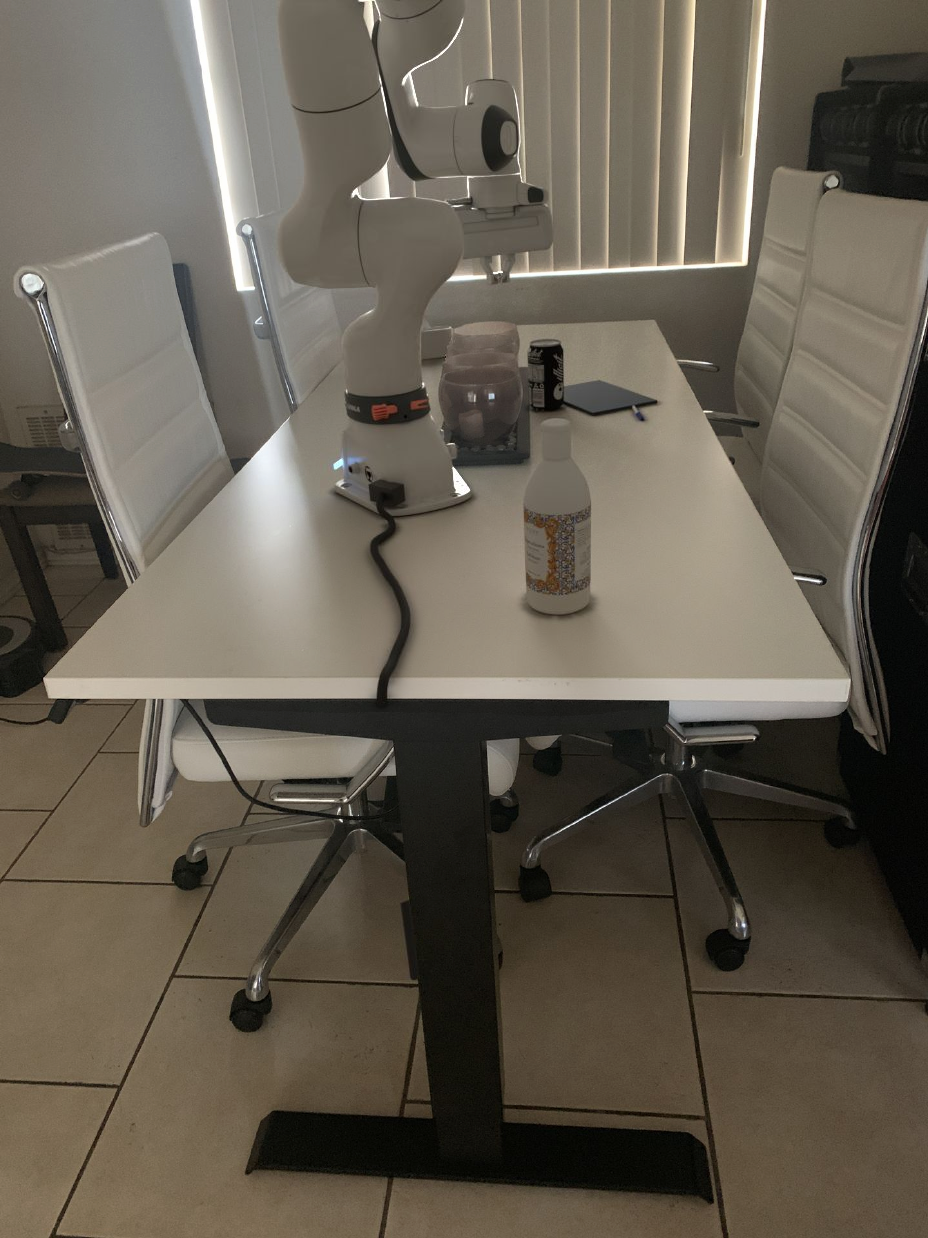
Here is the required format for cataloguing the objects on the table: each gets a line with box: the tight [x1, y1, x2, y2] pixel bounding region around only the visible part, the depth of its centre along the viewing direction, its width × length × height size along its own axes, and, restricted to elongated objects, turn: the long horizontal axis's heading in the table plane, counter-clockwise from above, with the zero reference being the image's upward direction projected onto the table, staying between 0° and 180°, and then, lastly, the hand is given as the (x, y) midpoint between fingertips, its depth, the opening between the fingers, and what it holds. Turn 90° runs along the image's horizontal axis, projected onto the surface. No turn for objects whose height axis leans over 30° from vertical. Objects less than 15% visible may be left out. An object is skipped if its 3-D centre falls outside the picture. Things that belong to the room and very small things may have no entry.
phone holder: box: [421, 315, 453, 361], centre depth 214 cm, size 17×10×18 cm, turn 15°
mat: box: [563, 379, 658, 416], centre depth 170 cm, size 20×14×1 cm
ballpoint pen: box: [631, 405, 645, 422], centre depth 160 cm, size 10×1×1 cm, turn 3°
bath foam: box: [522, 418, 592, 616], centre depth 92 cm, size 7×7×20 cm
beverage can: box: [526, 338, 565, 412], centre depth 164 cm, size 7×7×12 cm
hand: (498, 283), depth 153 cm, fingers closed
